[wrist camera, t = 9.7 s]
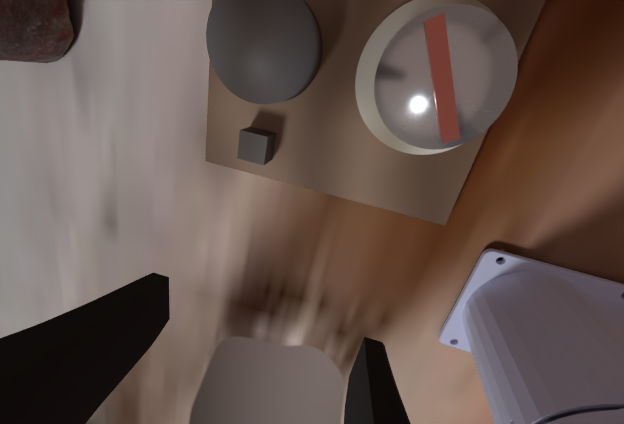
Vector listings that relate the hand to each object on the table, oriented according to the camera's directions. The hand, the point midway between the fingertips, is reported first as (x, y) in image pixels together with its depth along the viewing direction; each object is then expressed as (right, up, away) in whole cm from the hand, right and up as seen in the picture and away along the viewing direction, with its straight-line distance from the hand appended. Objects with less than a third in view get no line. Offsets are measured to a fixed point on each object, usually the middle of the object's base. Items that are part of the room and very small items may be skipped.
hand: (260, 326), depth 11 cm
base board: (+4, +12, +5) cm, 14 cm away
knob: (+7, +10, +4) cm, 13 cm away
